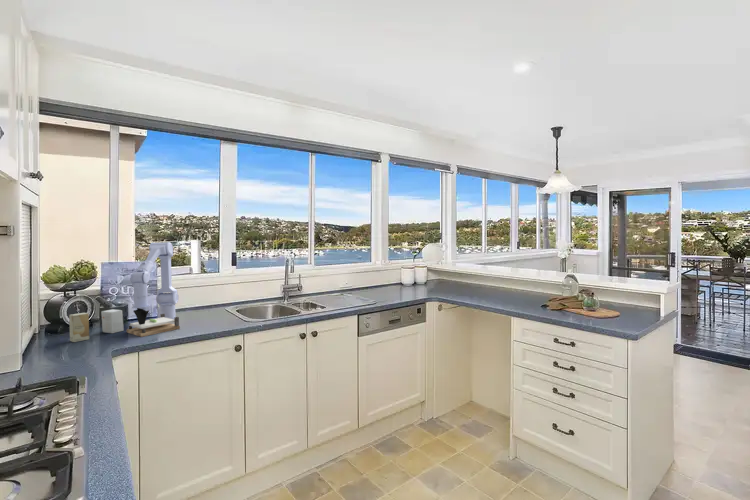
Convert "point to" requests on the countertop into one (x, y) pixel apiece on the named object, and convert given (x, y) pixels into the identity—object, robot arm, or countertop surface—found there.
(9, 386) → the countertop surface
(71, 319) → the skincare box
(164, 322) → the levelling plate
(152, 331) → the oak base
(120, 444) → the countertop surface
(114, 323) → the small box
